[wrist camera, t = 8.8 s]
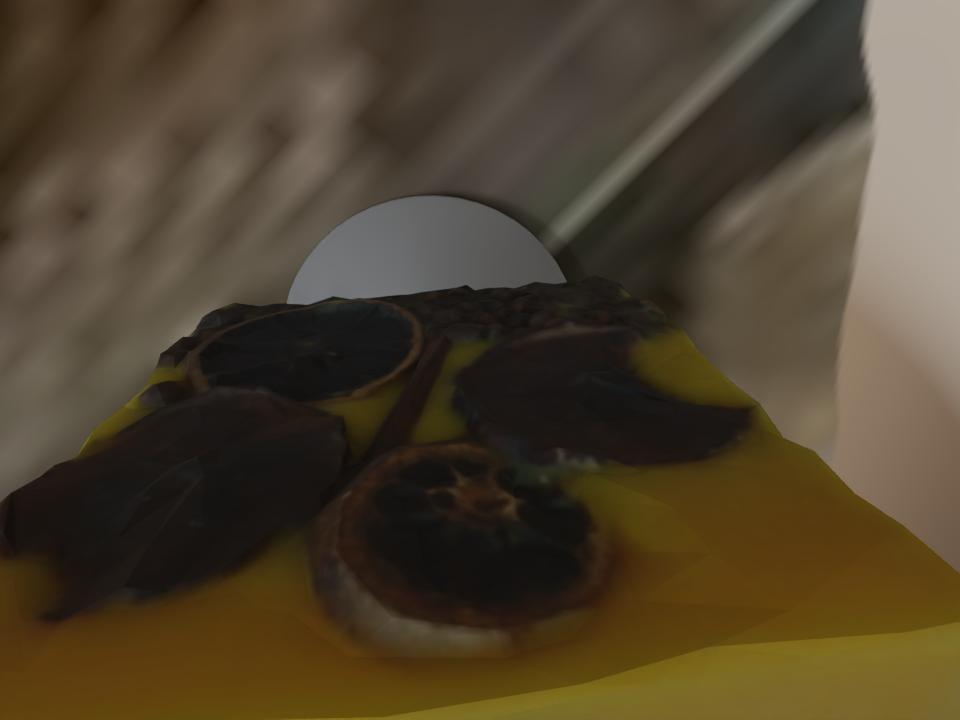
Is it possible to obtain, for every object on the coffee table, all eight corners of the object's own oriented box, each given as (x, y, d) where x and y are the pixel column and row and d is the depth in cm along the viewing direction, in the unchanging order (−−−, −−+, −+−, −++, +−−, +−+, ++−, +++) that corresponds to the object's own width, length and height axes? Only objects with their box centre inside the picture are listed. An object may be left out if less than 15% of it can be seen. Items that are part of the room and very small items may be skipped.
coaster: (301, 462, 24) (298, 470, 24) (269, 188, 19) (264, 191, 19) (557, 455, 25) (560, 463, 25) (590, 199, 20) (595, 201, 20)
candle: (606, 568, 17) (808, 1062, 8) (293, 608, 17) (144, 1194, 8) (624, 264, 13) (1098, 614, 4) (200, 301, 12) (-412, 830, 3)
